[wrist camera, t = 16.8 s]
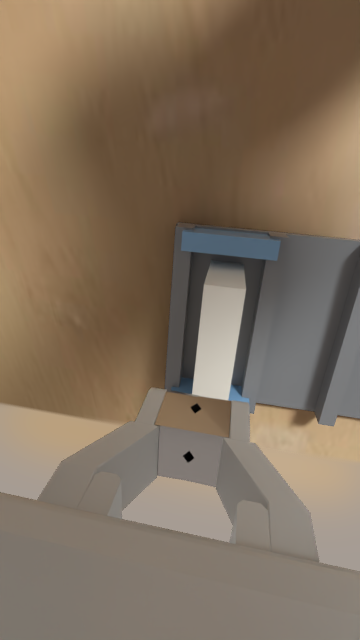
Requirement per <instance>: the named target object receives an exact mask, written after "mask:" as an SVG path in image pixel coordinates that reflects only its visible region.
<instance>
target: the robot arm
mask: <svg viewBox="0 0 360 640" xmlns="http://www.w3.org/2000/svg"><path fill="white" fill-rule="evenodd" d="M157 475H158V476H163V477H169V478H175V479H181V480H186V479H187V480H186V481H191V482H196V483H200V484H204V485H208V486H213V487H216V490H217V492H218V495H219V496H220V499H221V501H222V503H223V505H224V508H225V509H226V512H227V514H228V516H229V518H230V520H231V523H232V525H233V528H232V533H231V538H230V543H228V542H224V541H219V540H215V539H210V538H206V537H201V536H197V535H192V534H188V533H183V532H178V531H174V530H169V529H165V528H160V527H156V526H151V525H147V524H142V523H137V522H133V521H128V520H124V519H122V510H123V509H124V508H126V507H127V505H128V504H130V503H131V502H132V501H133V500H134V499H135V498H136V497H137V496H138V495H139V494H140V493H141V492H142V491H143V490H144V489H145V488H146V487H147V486H148V485H149V484H150V483H151V482H152V481H153V480H154V479H156V478H157ZM0 640H360V571H355V570H351V569H346V568H342V567H337V566H332V565H328V564H324V563H319V557H318V552H317V546H316V541H315V536H314V531H313V525H312V519H311V515H310V512H309V510H308V509H307V508H306V506H305V505H304V504H303V503H302V501H301V500H300V499H299V498H298V496H297V495H296V494H295V493H294V491H293V490H292V489H291V488H290V486H289V485H288V484H287V483H286V481H285V480H284V479H283V478H282V476H281V475H280V474H279V473H278V471H277V470H276V469H275V468H274V466H273V465H272V464H271V462H270V461H269V460H268V459H267V458H266V456H265V455H264V454H263V452H262V451H261V450H260V449H259V447H258V446H257V445H256V444H255V443H252V442H250V412H249V403H248V402H241V401H233V400H232V401H229V400H223V399H217V398H210V397H204V396H199V395H194V394H188V393H183V392H177V391H172V390H166V389H160V388H154V387H151V388H150V389H149V391H148V393H147V395H146V398H145V400H144V402H143V404H142V407H141V409H140V411H139V413H138V416H137V418H136V420H135V422H134V421H129V422H127V423H126V424H124V425H122V426H121V427H119V428H117V429H116V430H114V431H112V432H111V433H109V434H107V435H106V436H104V437H102V438H100V439H99V440H97V441H95V442H94V443H92V444H90V445H88V446H87V447H85V448H84V449H82V450H80V451H78V452H77V453H75V454H73V455H72V456H70V457H68V458H67V459H65V460H63V461H61V463H60V464H59V466H58V468H57V469H56V471H55V472H54V474H53V476H52V477H51V479H50V480H49V482H48V483H47V485H46V486H45V488H44V490H43V491H42V493H41V494H40V496H39V497H38V499H37V500H33V499H29V498H24V497H20V496H15V495H11V494H6V493H1V492H0Z"/></svg>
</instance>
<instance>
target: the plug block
mask: <svg viewBox="0 0 360 640" xmlns="http://www.w3.org/2000/svg"><path fill="white" fill-rule="evenodd" d="M245 293H246V283H245V273H244V264H239V263H230V262H221V261H212V260H211V263H210V266H209V270H208V273H207V276H206V279H205V283H204V288H203V297H202V307H201V316H200V325H199V334H198V344H197V353H196V362H195V372H194V381H193V390H192V394H194V395H199V396H204V397H210V398H217V399H223V400H228V399H229V393H230V386H231V380H232V374H233V368H234V362H235V355H236V349H237V343H238V337H239V331H240V324H241V318H242V312H243V306H244V299H245Z"/></svg>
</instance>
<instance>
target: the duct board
mask: <svg viewBox="0 0 360 640" xmlns="http://www.w3.org/2000/svg"><path fill="white" fill-rule="evenodd" d="M211 260H212V261H221V262H230V263H239V264H244V273H245V283H246V293H245V299H244V306H243V312H242V318H241V324H240V331H239V337H238V343H237V349H236V355H235V362H234V368H233V374H232V380H231V386H230V393H229V399H228V400H229V401H232V400H233V401H241V402H248V403H249V412H250V413H252V414H254V410H255V405H256V403H262V404H269V405H275V406H282V407H288V408H295V409H301V410H308V411H314V412H315V415H316V418H317V421H318V424H322V425H328V426H334V424H335V421H336V418H337V415H340V416H347V417H353V418H360V240H356V239H345V238H335V237H325V236H314V235H304V234H294V233H283V232H273V231H263V230H252V229H242V228H232V227H221V226H211V225H201V224H190V223H180V222H178V223H177V224H176V228H175V243H174V258H173V272H172V287H171V302H170V317H169V331H168V346H167V361H166V376H165V389H166V390H172V391H177V392H183V393H188V394H192V390H193V381H194V372H195V362H196V353H197V344H198V334H199V325H200V316H201V307H202V297H203V288H204V283H205V279H206V276H207V273H208V270H209V266H210V263H211Z"/></svg>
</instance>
